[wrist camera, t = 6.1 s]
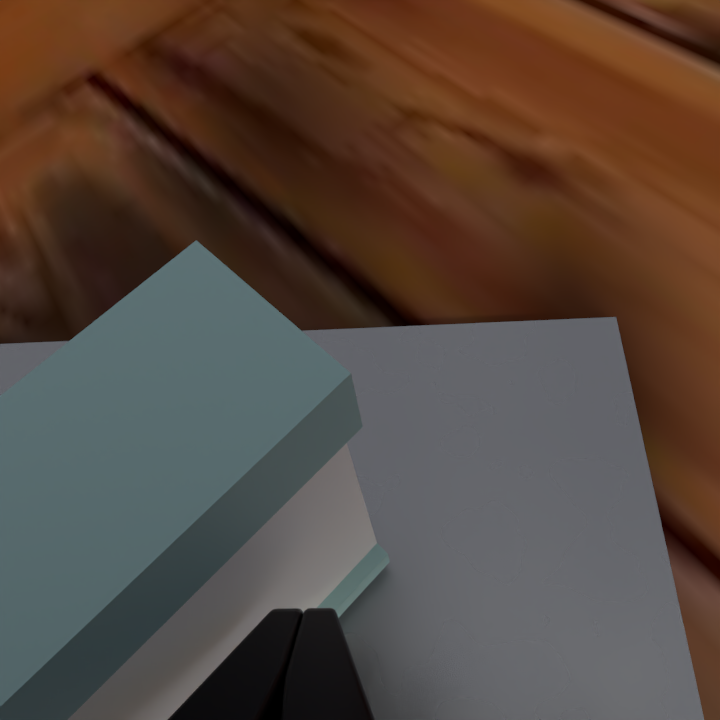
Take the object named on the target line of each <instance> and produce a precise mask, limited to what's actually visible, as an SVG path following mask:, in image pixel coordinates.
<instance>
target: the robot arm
mask: <svg viewBox="0 0 720 720" xmlns="http://www.w3.org/2000/svg"><path fill="white" fill-rule="evenodd" d="M168 720H375V717H374V714H373V711H372V709H371V706H370V703H369V700H368V698H367V695H366V692H365V689H364V687H363V684H362V681H361V678H360V676H359V673H358V670H357V667H356V665H355V662H354V659H353V657H352V654H351V651H350V648H349V646H348V643H347V640H346V637H345V635H344V632H343V629H342V626H341V624H340V621H339V618H338V615H337V613H336V611H335V610H334V609H333V608H308V609H306V610H305V611H304V612H303V611H302V610H301V609H299V608H277V609H273V610H271V611H270V612H269V613H268V614H267V615H266V616H265V617H264V618H263V619H262V620H261V621H260V622H259V623H258V625H257V626H256V627H255V628H254V629H253V630H252V631H251V632H250V633H249V634H248V635H247V636H246V637H245V638H244V639H243V640H242V641H241V642H240V644H239V645H238V646H237V647H236V648H235V649H234V650H233V651H232V652H231V653H230V654H229V655H228V656H227V657H226V658H225V659H224V660H223V662H222V663H221V664H220V665H219V666H218V667H217V668H216V669H215V670H214V671H213V672H212V673H211V674H210V675H209V676H208V677H207V678H206V679H205V681H204V682H203V683H202V684H201V685H200V686H199V687H198V688H197V689H196V690H195V691H194V692H193V693H192V694H191V695H190V696H189V697H188V699H187V700H186V701H185V702H184V703H183V704H182V705H181V706H180V707H179V708H178V709H177V710H176V711H175V712H174V713H173V714H172V715H171V716H170V718H169V719H168Z"/></svg>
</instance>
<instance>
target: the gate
mask: <svg viewBox="0 0 720 720" xmlns="http://www.w3.org/2000/svg"><path fill="white" fill-rule="evenodd" d="M362 427H363V426H362V421H361V416H360V412H359V407H358V403H357V398H356V394H355V389H354V385H353V380H352V375H351V373H350V372H349V371H348V370H347V369H346V368H344V367H343V366H342V365H341V364H340V363H339V362H337V361H336V360H335V359H334V358H333V357H332V356H330V355H329V354H328V353H327V352H326V351H325V350H323V349H322V348H321V347H320V346H319V345H318V344H316V343H315V342H314V341H313V340H312V339H311V338H309V337H308V336H307V335H306V334H305V333H304V332H302V331H301V330H300V329H299V328H298V327H297V326H295V325H294V324H293V323H292V322H291V321H290V320H288V319H287V318H286V317H285V316H284V315H283V314H282V313H280V312H279V311H278V310H277V309H276V308H275V307H273V306H272V305H271V304H270V303H269V302H268V301H266V300H265V299H264V298H263V297H262V296H261V295H259V294H258V293H257V292H256V291H255V290H254V289H252V288H251V287H250V286H249V285H248V284H247V283H245V282H244V281H243V280H242V279H241V278H240V277H238V276H237V275H236V274H235V273H234V272H233V271H231V270H230V269H229V268H228V267H227V266H226V265H225V264H223V263H222V262H221V261H220V260H219V259H218V258H216V257H215V256H214V255H213V254H212V253H211V252H209V251H208V250H207V249H206V248H205V247H204V246H202V245H201V244H200V243H199V242H198V241H197V240H196V241H195V242H193V243H192V244H191V245H190V246H188V247H187V248H186V249H185V250H183V251H182V252H181V253H180V254H178V255H177V256H176V257H175V258H173V259H172V260H171V261H169V262H168V263H167V264H166V265H164V266H163V267H162V268H161V269H159V270H158V271H157V272H156V273H154V274H153V275H152V276H151V277H149V278H148V279H147V280H146V281H144V282H143V283H142V284H141V285H139V286H138V287H137V288H135V289H134V290H133V291H132V292H130V293H129V294H128V295H127V296H125V297H124V298H123V299H122V300H120V301H119V302H118V303H117V304H115V305H114V306H113V307H112V308H110V309H109V310H108V311H106V312H105V313H104V314H103V315H101V316H100V317H99V318H98V319H96V320H95V321H94V322H93V323H91V324H90V325H89V326H88V327H86V328H85V329H84V330H83V331H81V332H80V333H79V334H77V335H76V336H75V337H74V338H72V339H71V340H70V341H69V342H67V343H66V344H65V345H64V346H62V347H61V348H60V349H59V350H57V351H56V352H55V353H54V354H52V355H51V356H50V357H48V358H47V359H46V360H45V361H43V362H42V363H41V364H40V365H38V366H37V367H36V368H35V369H33V370H32V371H31V372H30V373H28V374H27V375H26V376H25V377H23V378H22V379H21V380H20V381H18V382H17V383H16V384H14V385H13V386H12V387H11V388H9V389H8V390H7V391H6V392H4V393H3V394H2V395H1V396H0V720H168V719H169V718H170V716H171V715H172V714H173V713H174V712H175V711H176V710H177V709H178V708H179V707H180V706H181V705H182V704H183V703H184V702H185V701H186V700H187V699H188V697H189V696H190V695H191V694H192V693H193V692H194V691H195V690H196V689H197V688H198V687H199V686H200V685H201V684H202V683H203V682H204V681H205V679H206V678H207V677H208V676H209V675H210V674H211V673H212V672H213V671H214V670H215V669H216V668H217V667H218V666H219V665H220V664H221V663H222V662H223V660H224V659H225V658H226V657H227V656H228V655H229V654H230V653H231V652H232V651H233V650H234V649H235V648H236V647H237V646H238V645H239V644H240V642H241V641H242V640H243V639H244V638H245V637H246V636H247V635H248V634H249V633H250V632H251V631H252V630H253V629H254V628H255V627H256V626H257V625H258V623H259V622H260V621H261V620H262V619H263V618H264V617H265V616H266V615H267V614H268V613H269V612H270V611H271V610H273V609H277V608H299V609H301V610H302V611H303V612H304V611H305V610H306V609H308V608H333V609H334V610H335V611H336V613H337V615H338V618H339V617H340V616H341V615H342V613H343V612H344V611H345V610H346V609H347V608H348V607H349V606H350V605H351V604H352V603H353V601H354V600H355V599H356V598H357V597H358V596H359V595H360V594H361V593H362V592H363V591H364V589H365V588H366V587H367V586H368V585H369V584H370V583H371V582H372V581H373V580H374V578H375V577H376V576H377V575H378V574H379V573H380V572H381V571H382V570H383V569H384V568H385V566H386V565H387V564H388V563H389V562H390V561H389V556H388V553H387V552H386V551H385V550H384V549H383V548H382V547H381V546H380V545H379V544H378V543H377V541H376V538H375V535H374V531H373V528H372V525H371V521H370V518H369V515H368V512H367V508H366V505H365V502H364V498H363V495H362V492H361V488H360V485H359V482H358V479H357V475H356V472H355V469H354V465H353V462H352V459H351V456H350V452H349V449H348V446H347V442H348V441H349V440H350V439H351V438H352V437H353V436H354V435H355V434H356V433H357V432H358V431H359V430H360V429H361V428H362Z"/></svg>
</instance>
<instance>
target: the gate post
mask: <svg viewBox="0 0 720 720" xmlns="http://www.w3.org/2000/svg"><path fill="white" fill-rule="evenodd" d="M302 332H304V333H305V334H306V335H307V336H308V337H309V338H311V339H312V340H313V341H314V342H315V343H316V344H318V345H319V346H320V347H321V348H322V349H323V350H325V351H326V352H327V353H328V354H329V355H330V356H332V357H333V358H334V359H335V360H336V361H337V362H339V363H340V364H341V365H342V366H343V367H344V368H346V369H347V370H348V371H349V372H350V373H351V375H352V380H353V385H354V389H355V394H356V398H357V403H358V407H359V412H360V416H361V421H362V426H363V427H362V428H361V429H360V430H359V431H358V432H357V433H356V434H355V435H354V436H353V437H352V438H351V439H350V440H349V441H348V442H347V446H348V449H349V452H350V456H351V459H352V462H353V465H354V469H355V472H356V475H357V479H358V482H359V485H360V488H361V492H362V495H363V498H364V502H365V505H366V508H367V512H368V515H369V518H370V521H371V525H372V528H373V531H374V535H375V538H376V541H377V543H378V544H379V545H380V546H381V547H382V548H383V549H384V550H385V551H386V552H387V553H388V556H389V561H390V562H389V563H388V564H387V565H386V566H385V568H384V569H383V570H382V571H381V572H380V573H379V574H378V575H377V576H376V577H375V578H374V580H373V581H372V582H371V583H370V584H369V585H368V586H367V587H366V588H365V589H364V591H363V592H362V593H361V594H360V595H359V596H358V597H357V598H356V599H355V600H354V601H353V603H352V604H351V605H350V606H349V607H348V608H347V609H346V610H345V611H344V612H343V613H342V615H341V616H340V617H339V621H340V624H341V626H342V629H343V632H344V635H345V637H346V640H347V643H348V646H349V648H350V651H351V654H352V657H353V659H354V662H355V665H356V667H357V670H358V673H359V676H360V678H361V681H362V684H363V687H364V689H365V692H366V695H367V698H368V700H369V703H370V706H371V709H372V711H373V714H374V717H375V720H704V716H703V712H702V707H701V703H700V698H699V693H698V689H697V684H696V680H695V675H694V671H693V666H692V661H691V657H690V652H689V648H688V643H687V639H686V634H685V629H684V625H683V620H682V616H681V611H680V607H679V602H678V597H677V593H676V588H675V584H674V579H673V575H672V570H671V566H670V561H669V556H668V552H667V547H666V543H665V538H664V534H663V529H662V524H661V520H660V515H659V511H658V506H657V502H656V497H655V492H654V488H653V483H652V479H651V474H650V470H649V465H648V460H647V456H646V451H645V447H644V442H643V438H642V433H641V428H640V424H639V419H638V415H637V410H636V406H635V401H634V396H633V392H632V387H631V383H630V378H629V374H628V369H627V364H626V360H625V355H624V351H623V346H622V342H621V337H620V332H619V328H618V323H617V319H616V317H603V318H581V319H558V320H535V321H512V322H490V323H467V324H444V325H421V326H399V327H376V328H353V329H330V330H307V331H302ZM67 342H69V341H57V342H34V343H11V344H0V396H1V395H2V394H3V393H4V392H6V391H7V390H8V389H9V388H11V387H12V386H13V385H14V384H16V383H17V382H18V381H20V380H21V379H22V378H23V377H25V376H26V375H27V374H28V373H30V372H31V371H32V370H33V369H35V368H36V367H37V366H38V365H40V364H41V363H42V362H43V361H45V360H46V359H47V358H48V357H50V356H51V355H52V354H54V353H55V352H56V351H57V350H59V349H60V348H61V347H62V346H64V345H65V344H66V343H67Z"/></svg>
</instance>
